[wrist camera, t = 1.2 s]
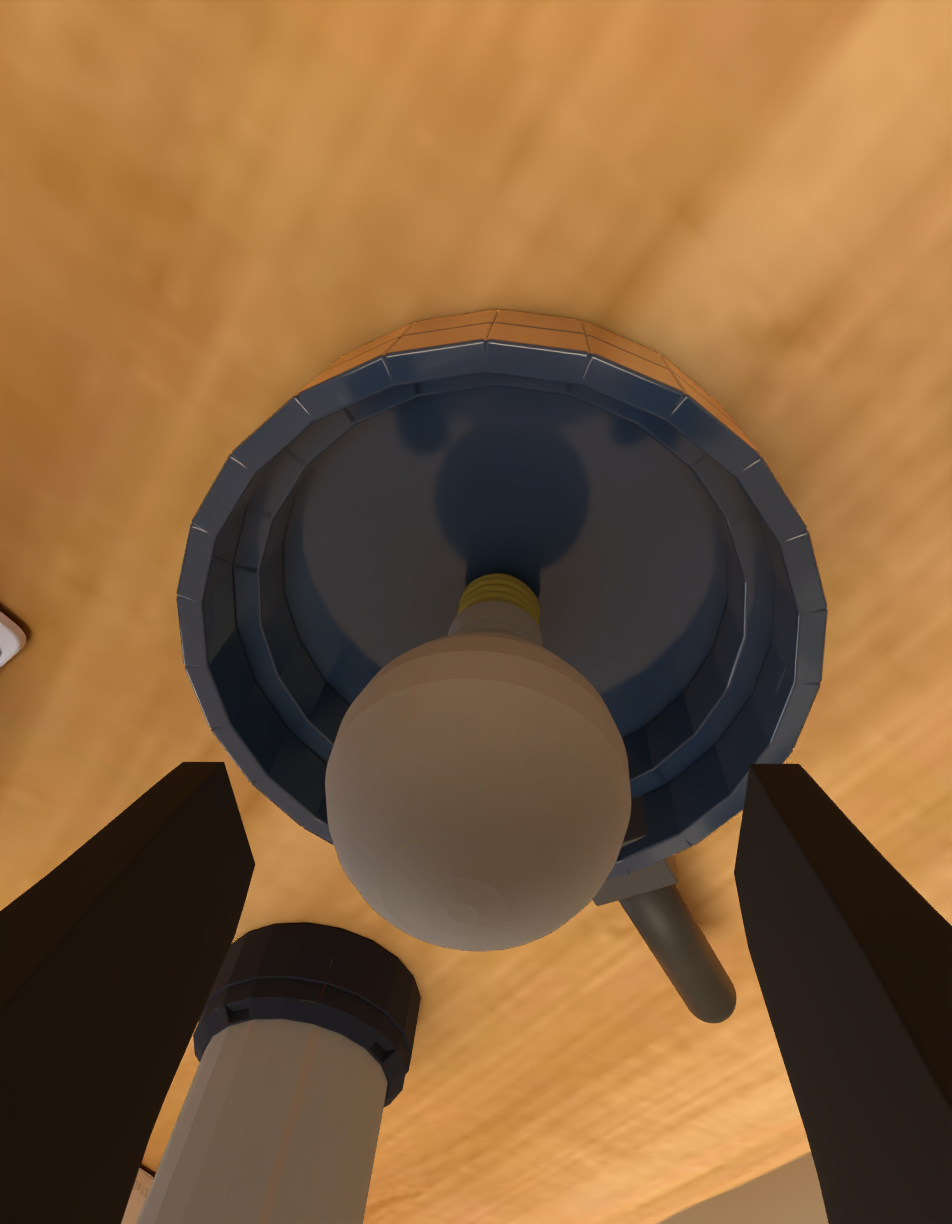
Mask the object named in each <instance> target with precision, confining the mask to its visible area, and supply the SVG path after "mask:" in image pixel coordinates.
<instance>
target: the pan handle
mask: <svg viewBox="0 0 952 1224" xmlns="http://www.w3.org/2000/svg"><path fill="white" fill-rule="evenodd" d="M642 797H643V796H639V797H636V798H633V799H631V814H630V819H629V824H628V827H627V830H626V834H625V837H624V840H623V843H622V846H621V848H622V847H624V846H626V845H629V844H631V843H633V842H635V841H637V840H639V839H641V838H643V837H644V836H646V835H647V834H648V833H647V826H646V820H645V813H644V807H643V800H642ZM677 883H678V879H677V873H676V868H675V862H674V857H673V855H672V856H670V857H668V858H666V859H663V860H661V861H659V862H657V863H654V864H652V865H650V866H648V867H646V868H643V869H641V870H639V871H637V872H634V873H630V875H627V876H622V877H618V878H613V879H609V880H605V882H604V883H603V885H602V887H601V888H600V890H599V891H598V893H597V894H596V895H595V897H594V898H593V899H592V900H593V901H594V903H595V904H596V905H597V906H600V905H603V904H607V903H610V902H614V901H617V900H619V902H620V903H621V905H622V907H623V908H624V910H625V911H626V913H627V914H628V916H629V917H630V919H631V920H632V922H633V924H634V925H635V927H636V928H637V930H638V931H639V933H640V934H641V936H642V937H643V939H644V941H645V942H646V944H647V945H648V947H649V948H650V950H651V951H652V953H653V954H654V956H655V958H656V959H657V961H658V962H659V964H660V965H661V967H662V968H663V970H664V972H665V973H666V975H667V976H668V978H669V979H670V981H671V982H672V984H673V985H674V987H675V989H676V990H677V992H678V993H679V995H680V996H681V998H682V999H683V1001H684V1002H685V1004H686V1006H687V1007H688V1009H689V1010H690V1011H691V1012H692V1014H693V1015H694V1016H696V1017H697V1018H698V1019H700V1020H702V1021H704V1022H707V1023H720V1022H723V1021H724V1020H726V1019H727V1018H729V1017H730V1016H731V1014H732V1013H733V1011H734V1009H735V1006H736V991H735V988H734V986H733V983H732V982H731V980H730V978H729V976H728V975H727V973H726V971H725V970H724V968H723V966H722V965H721V963H720V961H719V960H718V958H717V956H716V954H715V953H714V951H713V949H712V948H711V946H710V944H709V943H708V941H707V939H706V938H705V936H704V934H703V932H702V931H701V929H700V927H699V926H698V924H697V922H696V921H695V919H694V917H693V916H692V914H691V912H690V910H689V909H688V907H687V905H686V904H685V902H684V900H683V899H682V897H681V895H680V894H679V892H678V890H677V888H676V887H675V885H674V884H677Z"/></svg>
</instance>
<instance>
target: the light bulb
mask: <svg viewBox="0 0 952 1224" xmlns="http://www.w3.org/2000/svg"><path fill="white" fill-rule="evenodd" d="M539 621H540V607H539V603H538V600H537V597H536V596H535V594H534V592H533V591H532V590H531V589H530V587H528V586H527V585H526V584H525V583H524V582H522V581H521V580H519V579H518V578H516V577H513V576H511V575H507V574H502V573H493V574H487V575H484V576H481V577H479V578H477V579H475V580H473V581H472V582H471V583H470V584H469V585H468V586H467V587H466V589H465V590H464V592H463V594H462V597H461V600H460V603H459V608H458V613H457V616H456V618H455V619H454V620H453V622H452V624H451V626H450V628H449V631H448V636H445V637H441V638H438V639H435V640H432V641H430V642H427V643H425V644H423V645H420V646H418V647H416V648H414V649H411V650H409V651H407V652H405V653H403V654H402V655H400V656H398V657H397V658H395V659H394V660H392V661H391V662H390V663H388V664H387V665H386V666H384V667H383V668H382V669H381V670H380V671H379V672H378V673H377V674H376V675H375V676H374V677H373V679H372V680H371V681H370V682H369V683H368V684H367V686H366V687H365V688H364V689H363V690H362V692H361V693H360V694H359V695H358V696H357V698H356V699H355V700H354V701H353V703H352V704H351V706H350V707H349V709H348V710H347V712H346V714H345V716H344V718H343V720H342V722H341V725H340V728H339V730H338V733H337V736H336V739H335V742H334V745H333V748H332V751H331V754H330V757H329V760H328V764H327V769H326V777H325V791H326V805H327V818H328V825H329V830H330V834H331V837H332V840H333V843H334V846H335V849H336V852H337V855H338V858H339V861H340V863H341V865H342V868H343V870H344V871H345V873H346V875H347V876H348V878H349V879H350V881H351V882H352V883H353V885H354V886H355V887H356V889H357V890H358V891H359V893H360V894H361V895H362V897H363V898H364V899H365V901H366V902H367V903H368V904H369V905H370V906H371V907H372V908H373V909H374V910H375V911H376V912H377V913H378V914H379V915H380V916H382V917H383V918H384V919H385V920H387V921H388V922H389V923H391V924H392V925H394V926H395V927H396V928H398V929H400V930H402V931H403V932H405V933H407V934H409V935H411V936H412V937H414V938H417V939H419V940H422V941H424V942H427V943H430V944H433V945H437V946H440V947H444V948H450V949H456V950H462V951H495V950H504V949H508V948H513V947H517V946H521V945H524V944H527V943H529V942H532V941H534V940H537V939H540V938H542V937H544V936H546V935H548V934H550V933H552V932H553V931H555V930H557V929H558V928H560V927H561V926H562V925H564V924H565V923H566V922H567V921H569V920H570V919H571V918H572V917H574V916H575V915H576V914H577V913H579V912H580V911H581V910H582V909H583V908H584V907H585V906H586V905H588V904H589V902H590V901H591V900H592V899H593V898H594V897H595V895H596V894H597V893H598V891H599V890H600V888H601V887H602V885H603V883H604V882H605V880H606V878H607V877H608V875H609V874H610V872H611V870H612V868H613V866H614V864H615V862H616V861H617V858H618V855H619V852H620V849H621V846H622V843H623V840H624V837H625V834H626V830H627V827H628V824H629V819H630V814H631V790H630V779H629V768H628V759H627V754H626V749H625V746H624V743H623V739H622V737H621V735H620V733H619V730H618V728H617V726H616V724H615V722H614V720H613V718H612V716H611V714H610V712H609V710H608V708H607V706H606V704H605V703H604V701H603V699H602V698H601V696H600V694H599V693H598V692H597V691H596V689H595V688H594V687H593V686H592V684H591V683H590V682H589V681H588V680H587V679H586V678H585V677H584V676H583V675H582V674H580V673H579V672H578V671H577V670H576V669H575V668H573V667H572V666H571V665H569V664H568V663H567V662H565V661H564V660H562V659H561V658H560V657H558V656H557V655H555V654H554V653H552V652H551V651H549V650H547V649H546V648H544V647H543V640H542V635H541V631H540V629H539V627H540V625H539Z"/></svg>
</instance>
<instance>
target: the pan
mask: <svg viewBox="0 0 952 1224" xmlns="http://www.w3.org/2000/svg"><path fill="white" fill-rule="evenodd" d="M493 573H502V574H507V575H511V576H513V577H516V578H518V579H519V580H521V581H522V582H524V583H525V584H526V585H527V586H528V587H530V589H531V590H532V591H533V592H534V594H535V596H536V597H537V600H538V603H539V607H540V621H539V625H540V627H539V629H540V631H541V635H542V640H543V647H544V648H546V649H547V650H549V651H551V652H552V653H554V654H555V655H557V656H558V657H560V658H561V659H562V660H564V661H565V662H567V663H568V664H569V665H571V666H572V667H573V668H575V669H576V670H577V671H578V672H579V673H580V674H582V675H583V676H584V677H585V678H586V679H587V680H588V681H589V682H590V683H591V684H592V686H593V687H594V688H595V689H596V691H597V692H598V693H599V694H600V696H601V698H602V699H603V701H604V703H605V704H606V706H607V708H608V710H609V712H610V714H611V716H612V718H613V720H614V722H615V724H616V726H617V728H618V730H619V733H620V735H621V737H622V739H623V743H624V746H625V749H626V754H627V759H628V768H629V779H630V790H631V799H633V798H636V797H639V796H643V797H642V800H643V807H644V813H645V820H646V826H647V833H648V834H647V835H646V836H644V837H643V838H641V839H639V840H637V841H635V842H633V843H631V844H629V845H626V846H624V847H622V848H621V849H620V852H619V855H618V858H617V861H616V862H615V864H614V866H613V868H612V870H611V872H610V874H609V875H608V877H607V878H606V880H609V879H613V878H618V877H622V876H627V875H630V873H634V872H637V871H639V870H641V869H643V868H646V867H648V866H650V865H652V864H654V863H657V862H659V861H661V860H663V859H666V858H668V857H670V856H672V855H675V854H677V853H679V852H681V851H683V850H686V849H688V848H690V847H692V846H693V845H696V844H698V843H699V842H700V841H702V840H703V839H704V838H706V837H707V836H708V835H710V834H711V833H712V832H714V831H715V830H716V829H718V828H719V827H720V826H722V825H723V824H724V823H726V822H727V821H728V820H730V819H731V818H732V817H734V816H735V815H736V814H738V813H739V812H740V811H742V810H743V809H744V802H745V795H746V788H747V781H748V774H749V768H750V764H783V763H784V761H785V760H786V759H787V758H788V757H789V755H790V754H791V753H792V751H793V748H794V747H795V745H796V743H797V740H798V738H799V735H800V733H801V731H802V728H803V726H804V724H805V721H806V719H807V716H808V714H809V712H810V709H811V707H812V704H813V702H814V700H815V697H816V695H817V693H818V690H819V688H820V683H821V681H822V671H823V659H824V647H825V635H826V624H827V612H828V610H827V602H826V598H825V594H824V590H823V586H822V582H821V578H820V574H819V570H818V566H817V562H816V558H815V553H814V549H813V545H812V541H811V537H810V533H809V531H808V530H807V526H806V524H805V523H804V521H803V520H802V518H801V517H800V515H799V513H798V512H797V510H796V509H795V507H794V506H793V504H792V503H791V501H790V499H789V498H788V496H787V495H786V493H785V492H784V490H783V488H782V487H781V485H780V484H779V482H778V481H777V479H776V477H775V476H774V474H773V473H772V471H771V470H770V468H769V466H768V465H767V463H766V462H765V460H764V459H763V457H762V456H761V455H760V453H759V452H758V451H757V450H756V448H755V447H754V446H753V444H752V443H751V442H750V441H749V439H748V438H747V437H746V436H745V434H744V433H743V432H742V431H741V429H740V428H739V427H738V426H737V424H736V423H735V422H734V420H733V419H732V418H731V417H730V415H729V414H728V413H727V412H726V410H725V409H724V408H723V407H722V406H721V405H720V403H719V402H717V401H716V400H715V399H714V398H713V397H711V396H710V395H709V394H708V393H707V392H705V391H704V390H703V389H702V388H701V387H700V386H698V385H697V384H696V383H695V382H694V381H692V380H691V379H690V378H689V377H688V376H686V375H685V374H684V373H683V372H682V371H680V370H679V369H678V368H677V367H676V366H675V365H673V364H672V363H671V362H670V361H669V360H667V359H666V358H665V357H664V356H661V355H659V354H658V353H657V352H656V351H653V350H651V349H649V348H646V347H644V346H642V345H639V344H637V343H635V342H633V341H630V340H628V339H626V338H623V337H621V336H619V335H616V334H614V333H612V332H609V331H607V330H605V329H603V328H600V327H598V326H596V325H593V324H591V323H589V322H586V321H585V322H581V321H580V320H579V319H571V318H564V317H556V316H548V315H540V314H532V313H524V312H517V311H509V310H499V311H497V310H496V309H493V310H487V311H480V312H474V313H467V314H461V315H455V316H448V317H442V318H435V319H429V320H422V321H417V322H415V323H411V324H409V325H407V326H404V327H402V328H400V329H398V330H396V331H394V332H392V333H389V334H387V335H385V336H383V337H381V338H379V339H377V340H375V341H372V342H370V343H368V344H366V345H364V346H362V347H360V348H357V349H355V350H353V351H351V352H349V353H347V354H345V355H343V356H342V357H341V358H339V359H337V360H336V361H335V362H334V363H333V364H331V365H330V366H329V367H328V368H327V369H325V370H324V371H323V372H322V373H320V374H319V375H318V376H317V377H316V378H314V379H313V380H312V381H311V382H310V383H308V384H307V385H306V386H305V387H304V388H302V389H301V390H300V391H299V392H297V393H296V394H295V395H294V396H293V397H292V398H290V399H289V400H288V401H287V402H286V403H285V404H284V405H283V406H282V407H281V408H279V409H278V410H277V411H276V412H275V413H274V414H273V415H272V416H271V417H269V418H268V419H267V420H266V421H265V422H264V423H263V424H262V425H261V426H259V427H258V428H257V429H256V430H255V431H254V432H253V433H252V434H251V435H249V436H248V437H247V438H246V439H245V440H244V441H243V442H242V443H241V444H240V445H238V446H237V447H236V448H235V449H234V450H233V451H232V453H231V454H230V455H229V456H228V458H227V460H226V461H225V463H224V465H223V467H222V468H221V470H220V472H219V474H218V475H217V477H216V479H215V481H214V482H213V484H212V486H211V488H210V489H209V491H208V493H207V495H206V496H205V498H204V500H203V502H202V503H201V505H200V507H199V508H198V510H197V512H196V514H195V515H194V517H193V519H192V523H191V525H190V529H189V534H188V539H187V544H186V549H185V554H184V559H183V564H182V569H181V574H180V578H179V583H178V588H177V607H178V616H179V625H180V635H181V644H182V653H183V662H184V665H185V670H186V672H187V674H188V677H189V679H190V682H191V684H192V687H193V689H194V691H195V694H196V696H197V699H198V701H199V704H200V706H201V708H202V711H203V713H204V716H205V718H206V721H207V723H208V725H209V727H210V728H211V731H212V732H213V734H214V735H215V736H216V738H217V739H218V740H219V742H220V743H221V744H222V746H223V747H224V748H225V750H226V751H227V752H228V754H229V755H230V756H231V758H232V759H233V760H234V762H235V763H236V765H237V766H238V767H239V769H240V770H241V771H242V773H243V774H244V775H245V777H246V778H247V779H248V781H249V782H252V785H253V786H254V787H255V788H256V789H258V790H259V791H260V792H261V793H262V794H263V795H265V796H266V797H267V798H268V799H269V800H270V801H272V802H273V803H274V804H275V805H276V806H277V807H279V808H280V809H281V810H282V811H283V812H284V813H286V814H287V815H288V816H289V817H290V818H291V819H293V820H294V821H295V822H296V823H297V824H298V825H300V826H301V827H303V828H304V829H306V830H307V831H309V832H311V833H313V834H315V835H316V836H318V837H320V838H322V839H324V840H325V841H327V842H329V843H331V844H333V845H334V843H333V840H332V837H331V834H330V830H329V825H328V818H327V805H326V791H325V777H326V769H327V764H328V760H329V757H330V754H331V751H332V748H333V745H334V742H335V739H336V736H337V733H338V730H339V728H340V725H341V722H342V720H343V718H344V716H345V714H346V712H347V710H348V709H349V707H350V706H351V704H352V703H353V701H354V700H355V699H356V698H357V696H358V695H359V694H360V693H361V692H362V690H363V689H364V688H365V687H366V686H367V684H368V683H369V682H370V681H371V680H372V679H373V677H374V676H375V675H376V674H377V673H378V672H379V671H380V670H381V669H382V668H383V667H384V666H386V665H387V664H388V663H390V662H391V661H392V660H394V659H395V658H397V657H398V656H400V655H402V654H403V653H405V652H407V651H409V650H411V649H414V648H416V647H418V646H420V645H423V644H425V643H427V642H430V641H432V640H435V639H438V638H441V637H445V636H448V631H449V628H450V626H451V624H452V622H453V620H454V619H455V618H456V616H457V613H458V608H459V603H460V600H461V597H462V594H463V592H464V590H465V589H466V587H467V586H468V585H469V584H470V583H471V582H472V581H473V580H475V579H477V578H479V577H481V576H484V575H487V574H493Z"/></svg>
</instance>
